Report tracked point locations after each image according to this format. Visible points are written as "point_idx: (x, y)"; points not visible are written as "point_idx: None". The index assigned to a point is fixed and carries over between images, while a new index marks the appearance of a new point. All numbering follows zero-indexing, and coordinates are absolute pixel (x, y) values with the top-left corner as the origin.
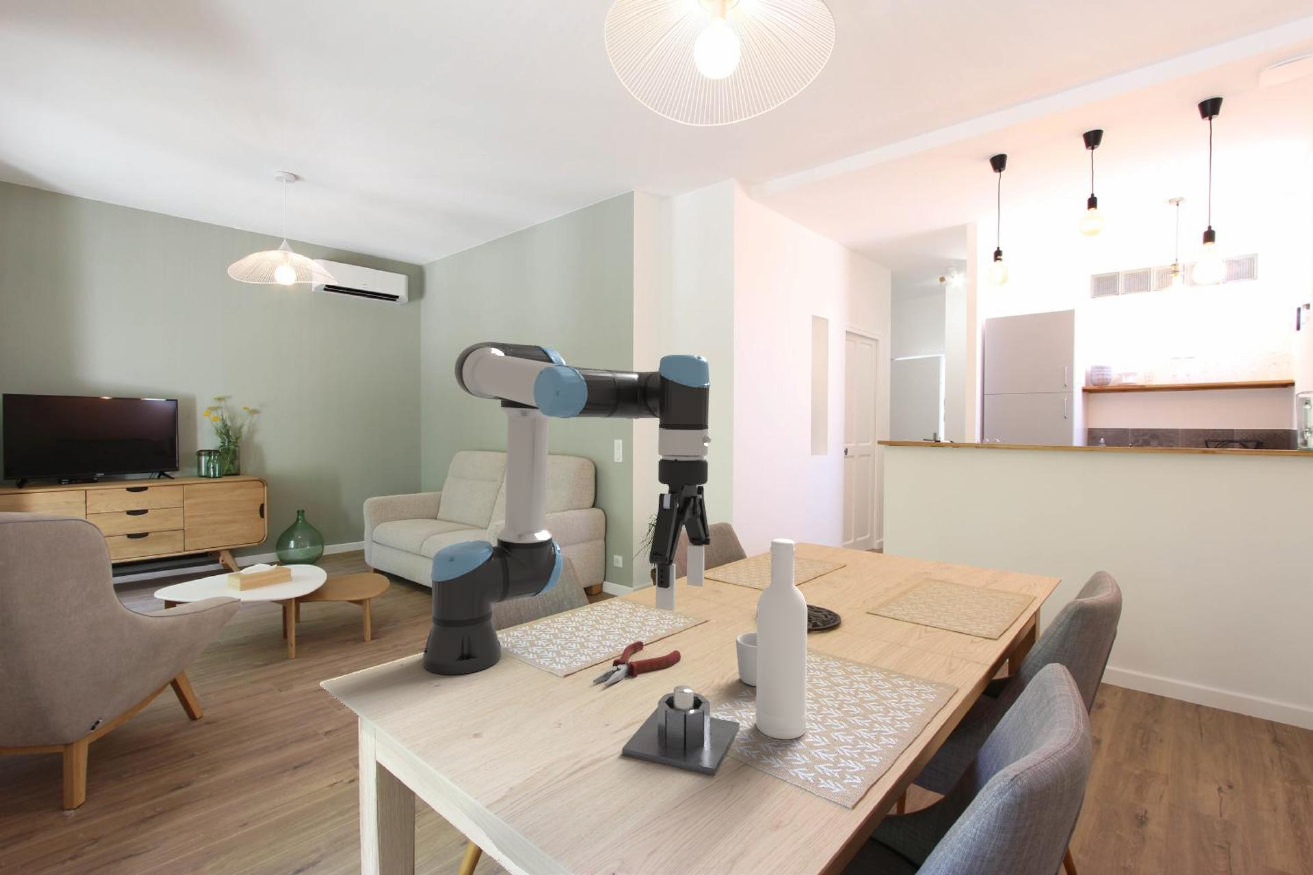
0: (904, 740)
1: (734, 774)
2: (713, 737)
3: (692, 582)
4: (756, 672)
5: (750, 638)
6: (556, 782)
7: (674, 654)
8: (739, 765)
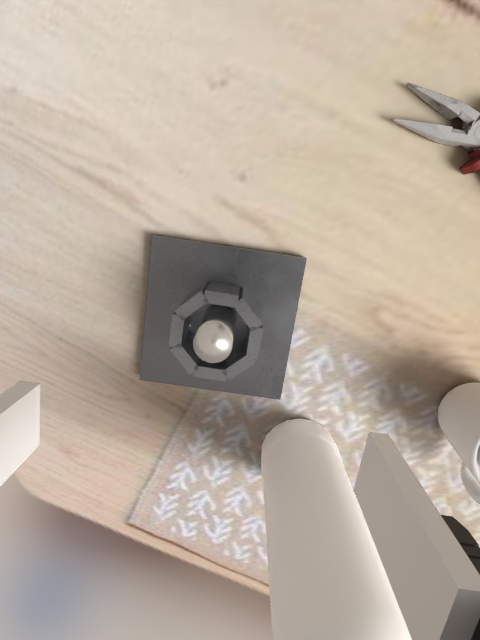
0: None
1: (154, 399)
2: None
3: (366, 460)
4: (445, 425)
5: None
6: (52, 157)
7: None
8: (177, 403)
